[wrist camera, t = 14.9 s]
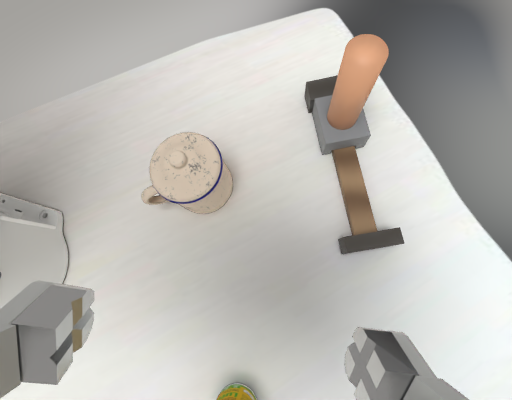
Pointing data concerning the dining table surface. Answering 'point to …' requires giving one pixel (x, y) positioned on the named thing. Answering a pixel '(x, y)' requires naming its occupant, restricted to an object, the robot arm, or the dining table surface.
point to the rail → (352, 188)
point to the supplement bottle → (237, 393)
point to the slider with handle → (350, 95)
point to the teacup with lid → (189, 174)
